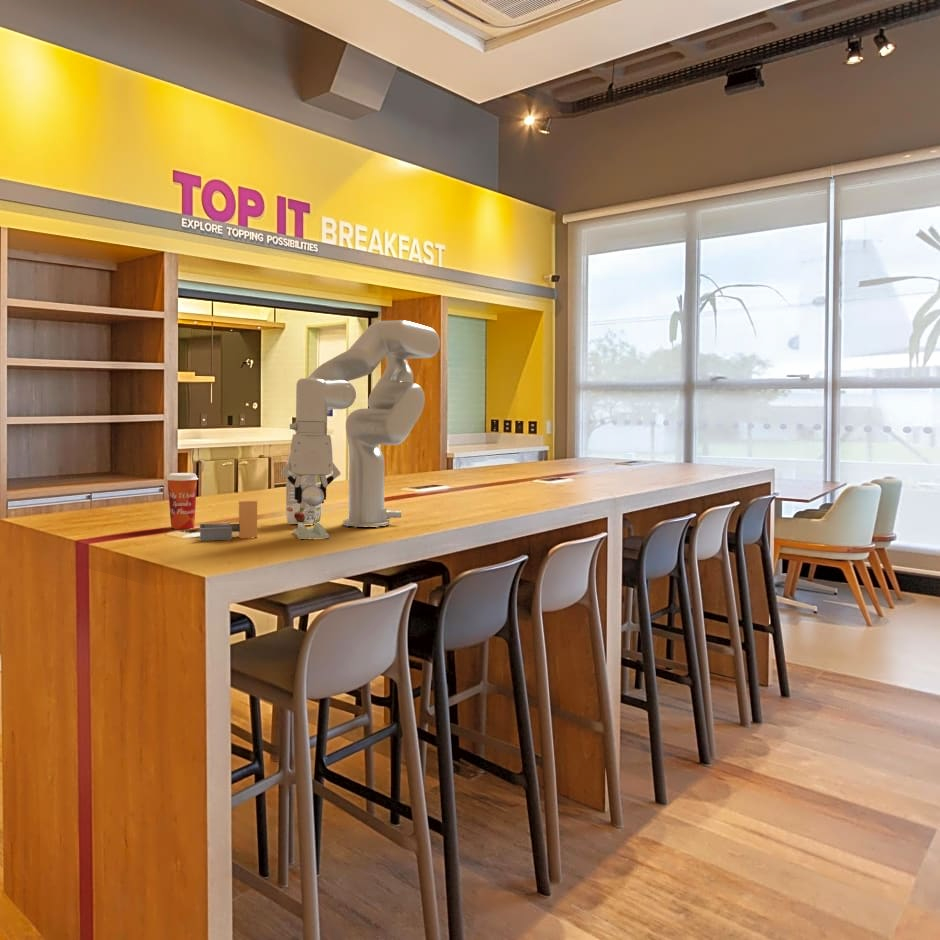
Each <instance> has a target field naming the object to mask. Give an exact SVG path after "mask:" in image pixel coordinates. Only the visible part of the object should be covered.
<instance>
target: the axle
mask: <svg viewBox="0 0 940 940" xmlns="http://www.w3.org/2000/svg"><path fill="white" fill-rule="evenodd" d="M301 488H302V493H301V496H302V500H303V501H304V502H305V503H306V504H308V505H309V506H318V505H320V504H321V503H322V502H323V500H324V493H323V491H322V490H321V489H320V488H319V487H317V486H315V485H313V484H311V483H307V484H304V485H303V486H302V487H301ZM324 501H325V500H324ZM322 504H323V503H322Z"/></svg>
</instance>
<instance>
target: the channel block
mask: <svg viewBox="0 0 940 940" xmlns="http://www.w3.org/2000/svg"><path fill="white" fill-rule="evenodd" d="M205 524H206V523H200V524H199V537H200V536H201V537H200V542H215V541H214V540H228V541H233V540H232V539H233V537H232V536H233V534H232V533H233V532H232V527H220V528H205ZM209 524H231V522H219V523H218V522H215V523H211V522H210V523H209Z"/></svg>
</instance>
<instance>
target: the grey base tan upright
mask: <svg viewBox="0 0 940 940" xmlns="http://www.w3.org/2000/svg"><path fill="white" fill-rule="evenodd" d="M204 524H205V528H220V527H232V533H237V532H238V537H239V536H240V537H239V539H240V538H248V539H253V538H252V537H257V538H258V501H257V499H256V498H254V499H249V498H248V499H247V498H246V499H245V498H244V499H238V523H230V524H210V523H204Z"/></svg>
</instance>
